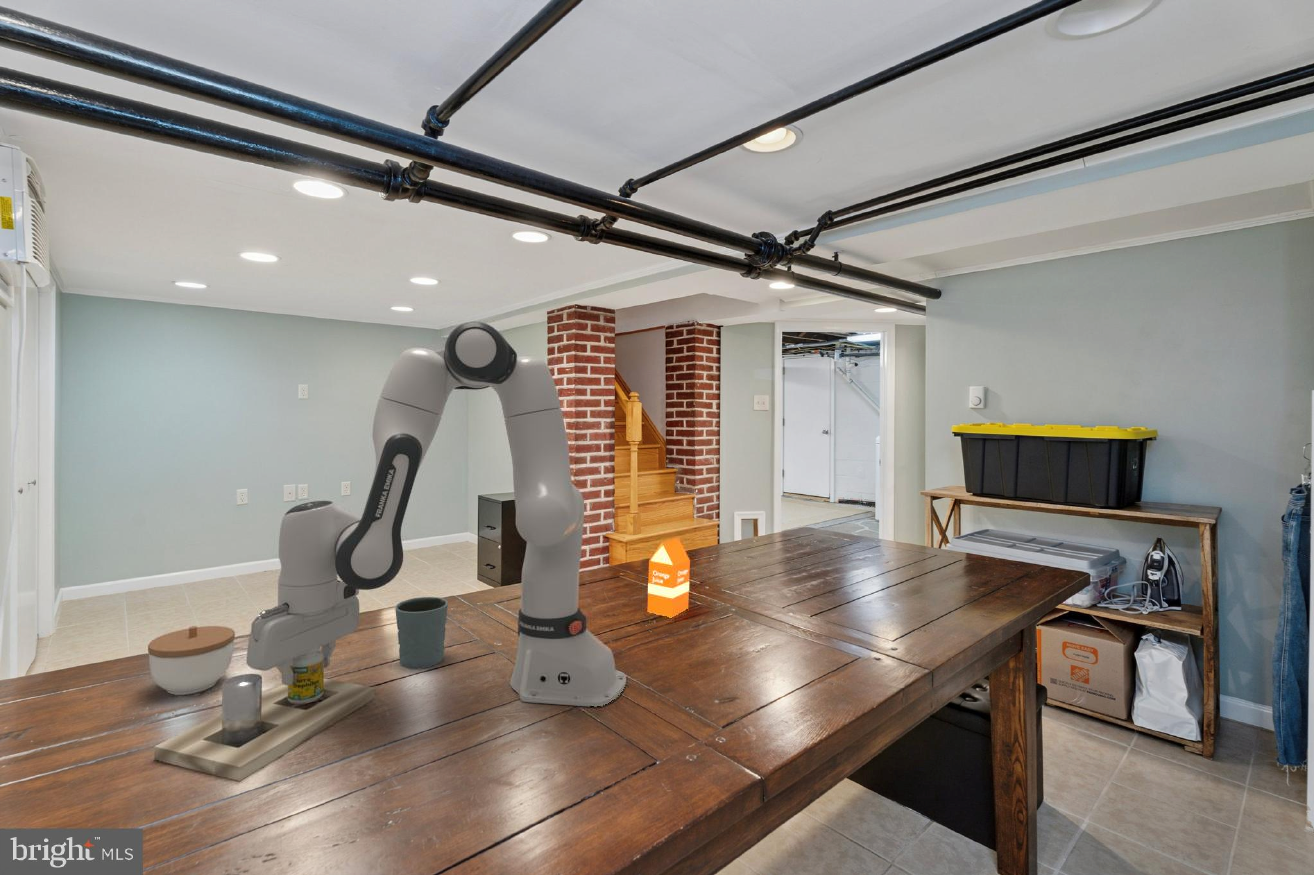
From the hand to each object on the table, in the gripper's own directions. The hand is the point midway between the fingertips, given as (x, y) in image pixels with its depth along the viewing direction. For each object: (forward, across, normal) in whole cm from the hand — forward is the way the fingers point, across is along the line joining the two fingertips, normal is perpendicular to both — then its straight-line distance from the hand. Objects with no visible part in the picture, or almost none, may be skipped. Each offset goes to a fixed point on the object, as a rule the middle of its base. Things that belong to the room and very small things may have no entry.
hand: (306, 675), depth 104 cm
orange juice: (+6, +72, -46) cm, 86 cm away
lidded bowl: (+6, 0, +26) cm, 27 cm away
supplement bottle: (+4, 0, 0) cm, 4 cm away
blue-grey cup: (+6, +24, -5) cm, 25 cm away
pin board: (+6, -6, 0) cm, 8 cm away
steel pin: (+6, -12, 0) cm, 13 cm away
